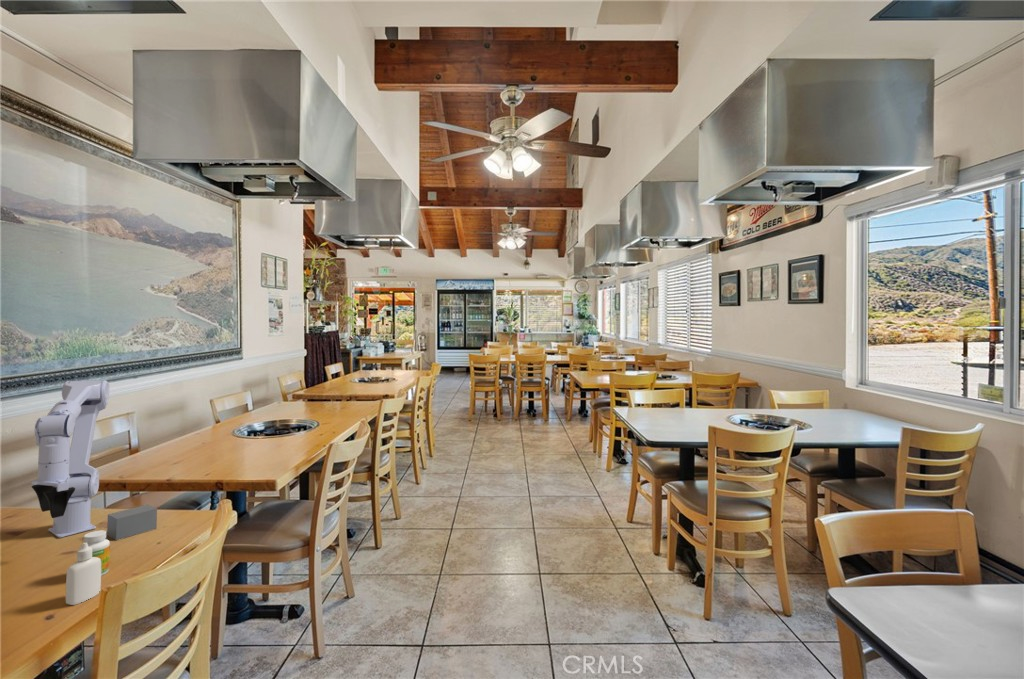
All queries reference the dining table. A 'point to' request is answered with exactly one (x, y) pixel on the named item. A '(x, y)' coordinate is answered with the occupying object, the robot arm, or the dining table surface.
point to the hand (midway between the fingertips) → (52, 513)
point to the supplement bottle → (99, 548)
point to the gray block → (131, 521)
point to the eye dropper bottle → (83, 577)
